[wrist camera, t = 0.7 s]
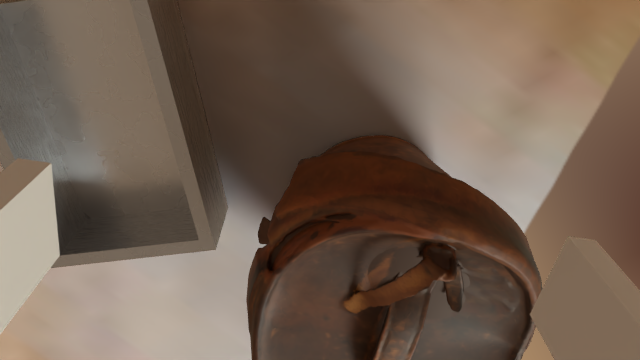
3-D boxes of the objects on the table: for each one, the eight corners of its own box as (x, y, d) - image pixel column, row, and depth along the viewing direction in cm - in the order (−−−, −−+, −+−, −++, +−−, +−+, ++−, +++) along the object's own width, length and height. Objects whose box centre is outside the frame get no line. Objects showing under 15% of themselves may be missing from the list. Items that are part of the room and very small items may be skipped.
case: (443, 48, 35) (542, 158, 20) (500, 257, 44) (598, 448, 29) (221, 132, 39) (152, 285, 23) (315, 311, 47) (312, 510, 32)
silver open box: (-8, 4, 34) (-68, 19, 28) (171, -21, 33) (144, -10, 28) (84, 224, 42) (51, 267, 37) (228, 207, 41) (215, 249, 36)
